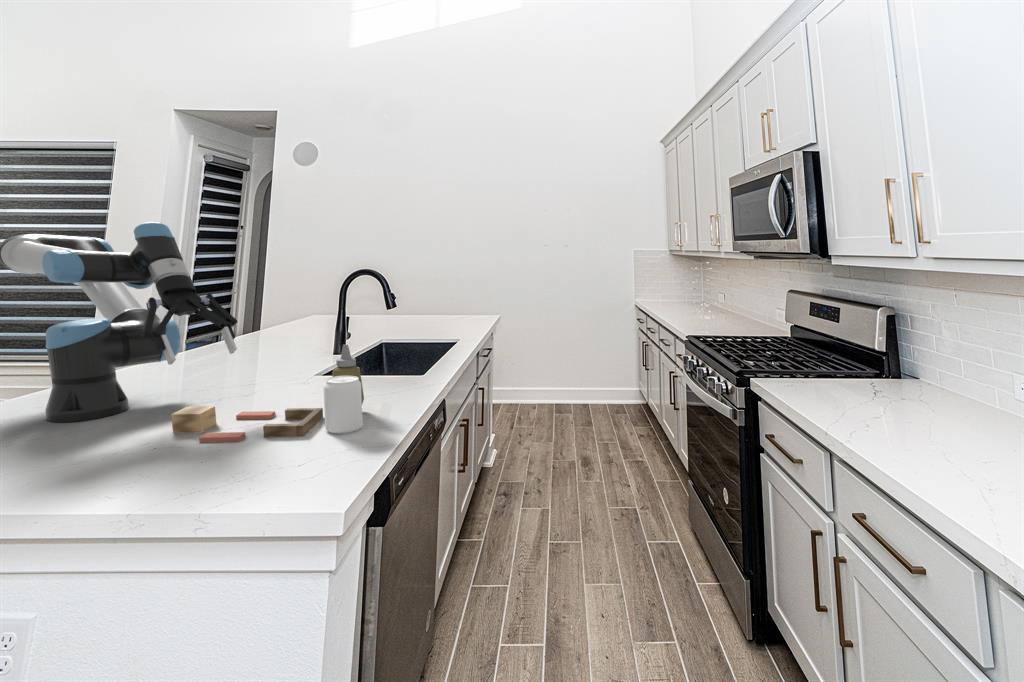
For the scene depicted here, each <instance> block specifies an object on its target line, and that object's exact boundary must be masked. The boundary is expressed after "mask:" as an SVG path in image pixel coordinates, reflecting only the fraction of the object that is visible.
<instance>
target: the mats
mask: <svg viewBox="0 0 1024 682" xmlns="http://www.w3.org/2000/svg"><path fill="white" fill-rule="evenodd" d="M275 416H276V411H275V410H274V411H273V410H272V411H271V410H270V411H268V410H267V411H264V410H262V411H241V412H239V413H238V414H236V415H235V419H236V420H271V419H272V418H274V417H275ZM246 432H247V431H241V432H238V431H237V432H235V431H234V432H232V431H230V432H229V431H228V432H206V433H204V434H203V435H201V436H199V437H198V442H199V443H227V442H228V443H229V442H230V443H232V442H233V443H235V442H236V443H237V442H238V443H239V442H240V441H242V440H243V439H245V438H246V437H247V434H246Z"/></svg>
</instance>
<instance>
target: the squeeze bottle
mask: <svg viewBox="0 0 1024 682" xmlns="http://www.w3.org/2000/svg"><path fill="white" fill-rule="evenodd" d="M335 361H336V362H335V363H336V367H334V368H333V369H332V376H331V377H335V376H356V377H358V378H359V381H360V382H361V396H362V405H363V404H364V400H365V396H364V389H363V381H362V376H361V375H362V374H361V368H360V367H358V366H357V362H356V361H357V360H356V358H355V357H352V355H351V351H350V347H349V345H348V344H342V349H341V354H340V357H338V358H337V359H336V360H335Z"/></svg>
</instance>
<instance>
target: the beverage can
mask: <svg viewBox="0 0 1024 682" xmlns="http://www.w3.org/2000/svg"><path fill="white" fill-rule="evenodd" d="M322 389H323V407H324V408H323V410H324V424H325V425H324V426H325V430H326V431H327V432H329V433H332V434H337V435H341V434H343V435H345V434H350V433H353V432H356V431H358V430H359V429H361V428H362V427H363V404H362V396H361V382H360V381H359V378H358V377H356V376H335V377H332V376H331V377H328V378H326V379H325V382H324V384H323V387H322Z"/></svg>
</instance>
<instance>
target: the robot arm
mask: <svg viewBox="0 0 1024 682" xmlns="http://www.w3.org/2000/svg"><path fill="white" fill-rule="evenodd" d="M133 234H134V240H135V241H136V242H137V244H136V246H135V247H134V249H132V251H131V252H121V251H120V252H115V250H114V248H113V247H112V245H111V244H110V243H109V242H108V241H106V240H105V239H102V238H99V237H92V236H88V235H87V236H86V235H84V236H74V235H59V234H43V233H25V234H17V235H14V236H10V237H8V238H6V239H4V240H3V241H1V242H0V263H1V265H2V266H4V267H5V268H7V269H8V270H10V271H13V272H15V273H20V274H23V275H34V276H36V275H37V276H46V278H47V279H48V280H49V281H50V282H53V283H63V284H64V283H65V284H73V285H75V286H79V287H80V288H81V290H82V291H83V292H84V294H86V296H87V297H88V298H89V300H91V302H92V303H93V305H94V306H95V307H96V308H97V310H98V311H99V312H100V314H101V315H102V316H103V317H95V318H84V319H77V320H70V321H65V322H59V323H57V324H54V325H51V326H50V327H48V328H47V329H46V331H45V349H46V350H47V358H48V365H49V372H50V378H51V385H52V386H51V391H50V394H49V396H48V400H47V403H46V408H45V411H44V412H45V417H46V420H47V421H49V422H51V423H52V422H55V423H70V422H71V423H73V422H81V421H88V420H89V421H91V420H96V419H100V418H105V417H109V416H114V415H116V414H119V413H122V412H124V411H126V410H128V409H129V408H130V405H129V399H128V396H127V395H126V394H125V391H124V390H123V388H122V387H121V384H120V383H119V381H118V379H117V373H116V370H117V369H118V368H123V367H130V366H137V365H146V364H153V363H161V362H164V361H167V365H173V364H174V363H175V361H176V360H177V358H176V357H177V355H178V354H179V352H180V348H181V333H180V328H179V325H178V324H177V322H176V321H175V320H174V319H172V317H173V316H174V315H176V316H178V317H182V316H187V315H188V316H192V315H193V314H194V315H196V316H198V317H202V318H204V319H205V320H206V321H208V322H210V323H212V324H214V325H215V326H216V327H219V328H220V329H221V330H220V333H221V336H222V337H223V341H224V343H225V345H226V347H227V350H228V353H229V354H234V353H235V352H236V351H237V350H238V348H237V345H236V343H235V341H234V340H235V339H236V335H235V332H234V330H233V328H234V327H235V325H236V324H237V323H238V319H236V318H235V317H234V316H233V315H232V314H230V313H229V311H227V310H226V309H225V308H224V307H223V306H222V305H221V304H220V303H218V301H217V300H216V299H215V297H214V296H213V294H212V293H207V294H206V295H202V296H200V295H199V294H198V293H197V289H196V287H195V285H194V282H193V281H192V280H193V279H192V278H191V275H190V273H189V270H188V268H187V265H186V263H185V261H184V259H183V256H182V253H181V252H180V249H179V246H178V243H177V241H176V239H175V238H176V237H174V235H173V234H172V231H171V229H170V227H169V226H168V225H166V224H165V223H162V222H154V221H148V222H142V223H140V224H138V225H137V226H135V227H134V229H133ZM153 284H155V289H156V291H157V293H158V296H159V298H160V299H156V298H154V297H150V298H148V299H147V302H146V308H144V307H143V306H142V305H141V304H140V303H139V301H138V300H137V299H136V298H135V296H134V295H132V293H131V292H130V291H129V289H128V288H127V287H130V288H133V289H136V290H144V289H147V288H149V287H152V285H153ZM126 286H127V287H126ZM202 303H203V304H202ZM205 305H206V306H207V307H208V308H209V309H208V308H207V307H206V306H205ZM160 306H162V307H163V309H166V310H167V313H166V314H165V315H164V316H163V318H160V317H159V316H158V315H157V314H156V312H157V309H159V308H160ZM116 368H117V369H116Z"/></svg>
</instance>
